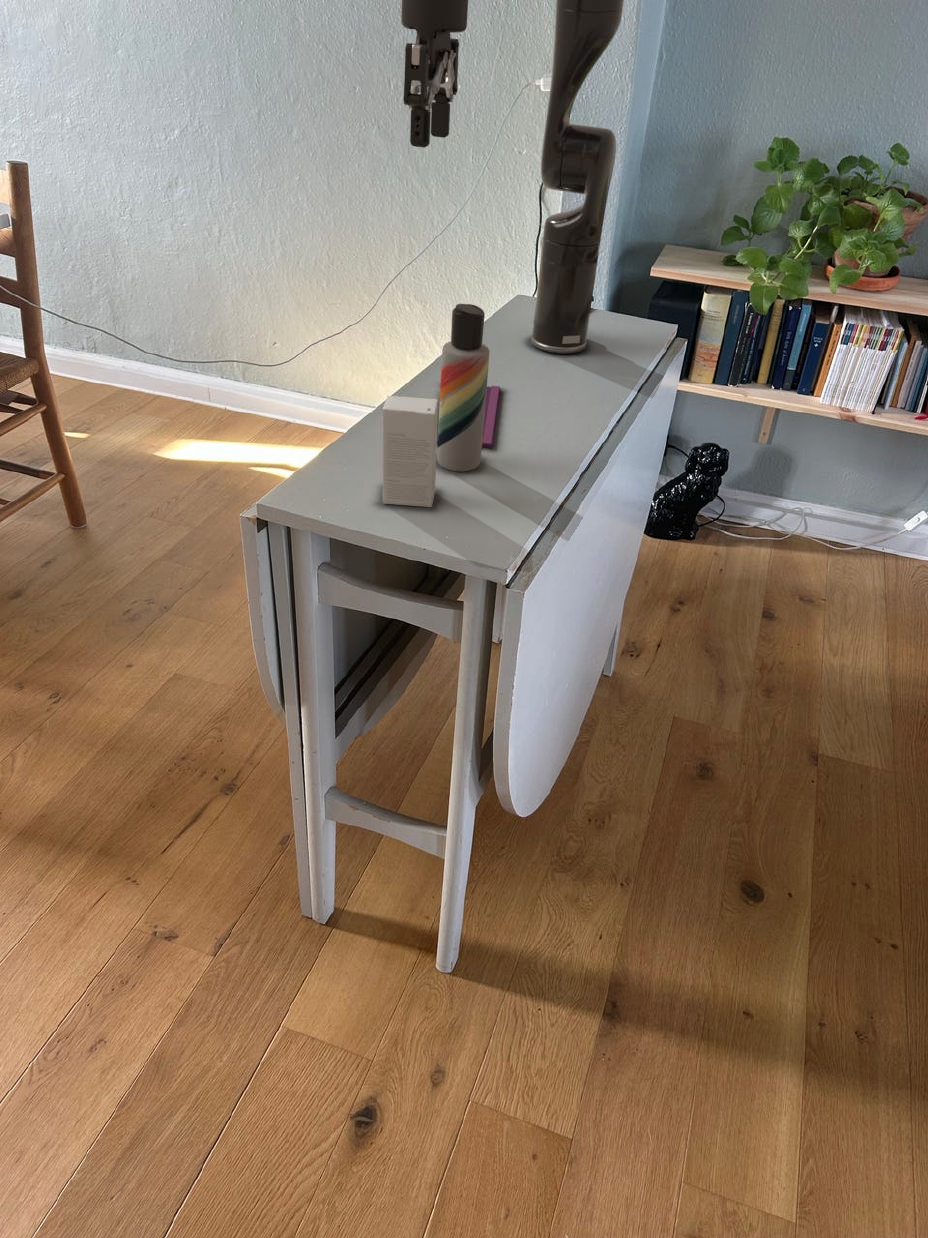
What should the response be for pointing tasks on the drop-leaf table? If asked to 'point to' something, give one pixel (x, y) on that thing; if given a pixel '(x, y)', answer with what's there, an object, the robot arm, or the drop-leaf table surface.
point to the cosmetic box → (409, 450)
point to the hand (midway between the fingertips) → (430, 141)
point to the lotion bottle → (463, 391)
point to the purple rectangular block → (489, 416)
